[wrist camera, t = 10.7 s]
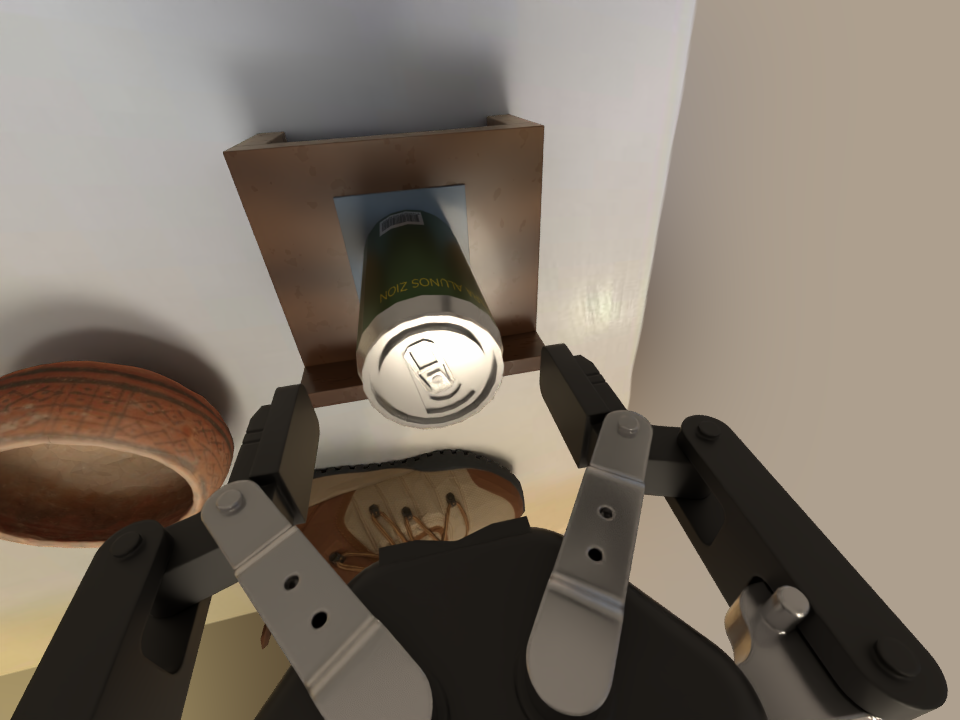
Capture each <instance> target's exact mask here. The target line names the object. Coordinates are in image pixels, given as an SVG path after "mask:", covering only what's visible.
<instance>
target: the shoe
mask: <svg viewBox="0 0 960 720" xmlns="http://www.w3.org/2000/svg"><path fill="white" fill-rule="evenodd" d="M443 452H444V454H440V451H437V452H432V456H428V457H427V454H424V455H421V456H419V460H417V461H415V460H414V458H410V459H407V463H402V461H394V465H389V462H388V463H382V464H381V466H379V467H378V466H377V464H369V468H366V469H364V466H363V465H357V466H355V469H350V468H349V466H346V467H341V470H335V468H330V469H327V472H326V473H321V470H319V471H314V475H313V481H312V488H311V494H310V500H309V507H308V513H307V520H306V523H303V524H298V525H296V526H297V527H298V528H299V529H300V531H301V532H302V533H303V534H304V535H305V536H306V538H307V539H308V540H309V541H310V542H311V544H312V545H313V546H314V547H315V548H316V549H317V551H318V552H319V553H320V554H321V555H322V556H323V558H324V559H325V560H326V561H327V562H328V563H329V565H330V566H331V567H332V568H333V569H334V570H335V572H336V573H337V574H338V575H339V576H340V577H341V579H342V580H343V581H344V582H345V583H346V585H347V584H348V583H349V582H350V581H351V580H352V579H353V578H354V577H355V576H356V575H357V574H359V573H360V572H361V571H362V570H364V569H365V568H367V567H368V566H370V565H371V564H373V563H375V562H377V561H379V548H381V547H386V546H391V545H395V544H400V543H404V542H409V541H414V540H436V541H456V540H459V539H462V538H464V537H466V536H468V535H470V534H472V533H474V532H476V531H478V530H480V529H482V528H484V527H486V526H488V525H490V524H492V523H497V522H501V521H506V520H511V519H515V518H520V517H521V516H522V514H523V513H524V512H525V504H524V496H523V490H522V487H521V484H520V482H519V480H518V479H517V478H516V477H515V475H514V474H512V473H510V470H509V469H507V468H505V467H502V468H500V467H499V464H498V463H496V462H494V461H492V462H491V463H490V462H487V458H484V457H482V456H480V459H478V458H476V457H475V454H473V453H469V452H468V455H464V453H463V451H457V450H456V453H455V454H452V453H451V450H443ZM270 636H271V632H270V630H269V629H268V627H267V626H266V624H265V625H264V628H263V632H262V636H261V645H262V649H264V648H265V647H266V646H267V645H268V642H269V639H270Z"/></svg>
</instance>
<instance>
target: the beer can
mask: <svg viewBox="0 0 960 720" xmlns="http://www.w3.org/2000/svg"><path fill="white" fill-rule="evenodd" d="M502 355H503V345H502V341H501V336H500V332H499V329H498V327H497V325H496V323H495V321H494V319H493V316H492V314H491V312H490V310H489V308H488V306H487V304H486V301H485V299H484V297H483V295H482V293H481V291H480V289H479V286H478V284H477V282H476V280H475V278H474V276H473V274H472V271H471V269H470V267H469V265H468V263H467V261H466V259H465V257H464V254H463V252H462V250H461V248H460V246H459V244H458V242H457V239H456V237H455V236H454V234H453V233H452V231H451V230H450V228H449V227H448V225H446V224H445V223H444V222H443V221H442V220H440V219H439V218H438V217H437V216H435V215H432V214H429V213H427V212H424V211H422V210H402V211H398V212H395V213H391V214H389V215H388V216H386V217H385V218H383V219H382V220H380V221H379V222H377V224H376V225H375V226H374V228H373V229H372V231H371V232H370V233H369V235H368V237H367V241H366V244H365V248H364V257H363V269H362V282H361V295H360V308H359V321H358V334H357V347H356V360H357V371H358V375H359V377H360V379H361V381H362V382H363V390H364V392H365V394H366V396H367V398H368V399H369V401H370V403H371V405H372V406H373V407H374V408H375V409H376V410H377V411H378V412H379V413H381V414H382V415H383V416H384V417H385V418H387V419H389V420H391V421H393V422H396V423H398V424H400V425H402V426H407V427H413V428H419V429H431V428H443V427H447V426H450V425H453V424H457V423H460V422H463V421H464V420H466V419H468V418H470V417H471V416H473V415H475V414H477V413H478V412H480V411H481V410H482V409H483V408H484V407H485V406H486V405H487V404H488V403H489V402H490V401H491V400H492V399H493V397H494V395H495V394H496V392H497V390H498V388H499V386H500V384H501V382H502V376H503V370H504V363H503V359H502Z"/></svg>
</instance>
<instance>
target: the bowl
mask: <svg viewBox="0 0 960 720" xmlns="http://www.w3.org/2000/svg"><path fill="white" fill-rule="evenodd" d="M233 452H234V443H233V438H232V436H231V433H230V431H229V429H228V427H227V425H226V423H225V422H224V420H223V419H222V417H221V415H220V413H219V412H218V411H217V410H216V409H215V408H214V407H213V406H212V405H211V404H210V403H209V402H208V401H207V400H206V399H205V398H204V397H203V396H201V395H199V394H197V393H195V392H193V391H191V390H189V389H187V388H186V387H184V386H182V385H181V384H179V383H178V382H176V381H174V380H172V379H169V378H167V377H165V376H163V375H160V374H158V373H155V372H152V371H150V370H146V369H143V368H138V367H134V366H127V365H119V364H111V363H103V362H94V361H65V362H58V363H52V364H44V365H38V366H34V367H30V368H26V369H22V370H18V371H15V372H12V373H10V374H7V375H4V376H2V377H0V539H2V540H6V541H11V542H16V543H21V544H27V545H33V546H41V547H63V548H96V547H101V545H102V544H103V543H104V542H105V541H106V540H107V539H108V538H109V537H110V536H112V535H113V534H114V533H116V532H117V531H119V530H120V529H122V528H123V527H125V526H127V525H129V524H132V523H134V522H138V521H141V520H155V521H158V522H159V523H160V524H161V525H162V526H163V527H164V528H165V527H167V526H170V525H172V524H174V523H177V522H179V521H181V520H183V519H186V518H188V517H190V516H193V515H195V514H197V513H199V512H201V510H202V507H203V505H204V504H205V502H206V501H207V499H208V498H209V497H210V496H211V495H212V494H213V493H214V492H215V491H217V490H218V489H219V488H220V487H221V486H222V484H223V482H224V480H225V478H226V476H227V474H228V472H229V469H230V466H231V462H232V459H233Z"/></svg>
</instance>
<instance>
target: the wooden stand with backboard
mask: <svg viewBox="0 0 960 720" xmlns="http://www.w3.org/2000/svg"><path fill="white" fill-rule="evenodd" d="M543 144H544V125H541V124H538V123H535V122H531V121H528V120H525V119H522V118H519V117H516V116H513V115H510V114H505V115H492V116H487V126H484V127H472V128H459V129H447V130H435V131H422V132H410V133H398V134H385V135H373V136H360V137H348V138H336V139H323V140H311V141H299V142H287V140H286V136H285V133H284V132H272V133H259V134H256V135H254V136H252V137H250V138H249V139H247V140H245V141H243V142H241V143H239V144H237V145H235V146H233V147H231V148H229V149H228V150H226V151H224V152H223V155H224V157H225V160H226V162H227V165H228V168H229V170H230V173H231V175H232V178H233V181H234V183H235V186H236V188H237V191H238V194H239V196H240V199H241V202H242V204H243V207H244V209H245V212H246V215H247V217H248V220H249V222H250V225H251V228H252V230H253V233H254V235H255V238H256V241H257V243H258V246H259V248H260V251H261V254H262V256H263V259H264V262H265V264H266V267H267V269H268V272H269V275H270V277H271V280H272V282H273V285H274V288H275V290H276V293H277V295H278V298H279V301H280V303H281V306H282V308H283V311H284V314H285V316H286V319H287V322H288V324H289V327H290V329H291V332H292V335H293V337H294V340H295V342H296V345H297V348H298V350H299V353H300V355H301V358H302V361H303V363H304V366H305V368H304V372H303V376H302V380H301V384H303V385H304V386H305V388H306V391H307V393H308V396H309V398H310V401H311V403H312V406H313V408H317V407H323V406H329V405H335V404H341V403H347V402H353V401H359V400H365V399H368V398H367V396H366V394H365V392H364V390H363V382H362V381H361V379H360V377H359V375H358V371H357V360H356V347H357V334H358V321H359V308H360V295H361V282H362V269H363V257H364V248H365V244H366V241H367V237H368V235H369V233H370V232H371V231H372V229H373V228H374V226H375V225H376V224H377V222H379V221H380V220H382V219H383V218H385V217H386V216H388V215H389V214H391V213H395V212H398V211H402V210H422V211H424V212H427V213H429V214H432V215H435V216H437V217H438V218H439V219H440V220H442V221H443V222H444V223H445V224H446V225H448V227H449V228H450V230H451V231H452V233H453V234H454V236H455V237H456V239H457V242H458V244H459V246H460V248H461V250H462V252H463V254H464V257H465V259H466V261H467V263H468V265H469V267H470V269H471V271H472V274H473V276H474V278H475V280H476V282H477V284H478V286H479V289H480V291H481V293H482V295H483V297H484V299H485V301H486V304H487V306H488V308H489V310H490V312H491V314H492V316H493V319H494V321H495V323H496V325H497V327H498V329H499V332H500V336H501V341H502V345H503V355H502V359H503V363H504V370H503V376H507V375H513V374H519V373H525V372H531V371H537V370H540V364H541V350H542V347H543V346H545V345H544V343H543V342H542V340H541V339H540V337H539V335H538V334H537V332H536V317H537V292H538V268H539V243H540V218H541V193H542V168H543Z"/></svg>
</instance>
